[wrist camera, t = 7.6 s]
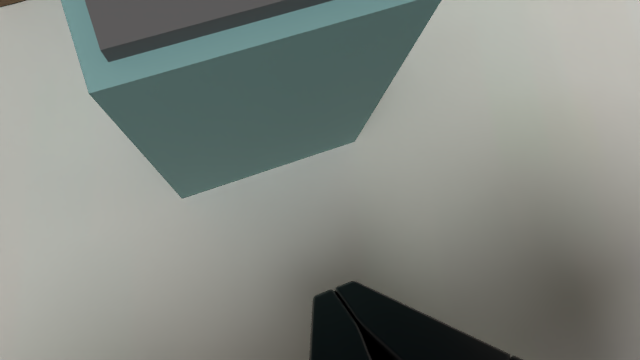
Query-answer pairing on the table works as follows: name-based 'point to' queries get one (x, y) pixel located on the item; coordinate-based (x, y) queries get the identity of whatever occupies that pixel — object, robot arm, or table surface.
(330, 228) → the table surface
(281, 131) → the teal box
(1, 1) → the corral
